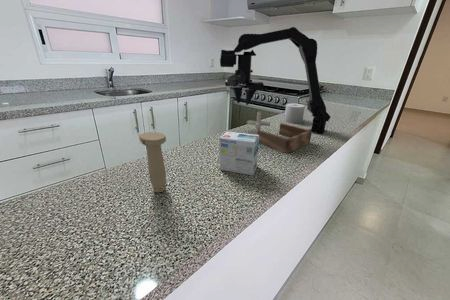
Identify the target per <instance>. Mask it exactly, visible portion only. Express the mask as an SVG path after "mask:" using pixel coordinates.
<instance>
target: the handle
mask: <svg viewBox="0 0 450 300" xmlns="http://www.w3.org/2000/svg"><path fill="white" fill-rule="evenodd" d="M138 137H139V141H140V144H142V145H143V146H146V147H145V148H146V155H147V165H148V166H147V167H148V174H149V179H150V180H149V181H150V184H151V186H152V189H153V192H154V193H155V192H157V193H159V192H162V191H163V192H164V190H165V191H166V189H167V186H166V184H167V174H166V166H165V161H164V157H163V151H162V145H163V144H165V142H167V139H166V138H167V137H166V135H165V134H164V133H162V132H157V131H148V132H147V131H146V132H142V133H141V134H138ZM163 192H162V193H163Z"/></svg>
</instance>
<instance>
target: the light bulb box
mask: <svg viewBox="0 0 450 300" xmlns="http://www.w3.org/2000/svg"><path fill="white" fill-rule="evenodd" d="M259 144H260V143H259V135H257V134H256V133H254V134H253V133H243V132H234V131H226V132H224V134H221V136H220V137H219V170H220V171H226V172H230V173H237V174H243V175H249V176H254V174H255V171H256V170H257V168H258V159H259V146H260V145H259Z"/></svg>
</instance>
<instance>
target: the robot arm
mask: <svg viewBox="0 0 450 300" xmlns="http://www.w3.org/2000/svg"><path fill="white" fill-rule="evenodd" d="M284 40H285V41H286V40H289V41H291V43H293V44H294V45H295V47H296V48H297V49H298V52H299V55H300V57H301V60H302V61H303V64H304V69H305V74H306V79H307V81H306V82H307V86H308V91H309V92H308V93H309V98H308V100H306V101H305V102H306V106H307V107H306V108H307V110H308V112H310V113H311V116H312V117H313V118H312V123H311V128H310V129H308V130H311V131H312V133H315V134H318V135H323V134H325V133H327V132H328V130H327V129H326V125H327V122H330V121H329V120H331V115H330V114H329V113H328V112H327V107H326V103H325V101H324V99H323V97H322V95H321V89H320V83H319V75H318V69H317V63H316V60H317V56H318V43H317V40H316V39H314V38H309V37H308V36H307V35H306V34H304V33H302V32H301V31H299V30H298V28H297V27H295V26H292V27H289V28H284V29H281V30H274V31H269V32H264V33H243V34H241V35H240V36H239V38H238V44H237V45H236V47H234V49H233V50H231V49H230V50H226V49H221V50H220V58H219V63H220V65H219V66H220V67H221V68H234V66H236V65H237V69H235V71H234V74H232V75H231V76H229V77H227V78H226V80H225V81H224V84H225V85H224V86H225V87H229V89H231V90H232V91H233V93H234V96H235V99H236V103H237V104H240V102H241V97H242V94H243V93H242V92H243V87H244V88H245V87H246V88H247V89H244V92H245V93H246V94H245V104H246V106H248V105H249V104H250V102H251V101H252V99H253V97H254V95H255V93H256V91H259V90H260V91H261V90H264V89H265V88H264V87H265V84H264V82H263V81H262V82H261V81H253V79H251V75H252V73H253V72H254V69H252V56H253V57H256V56H257V54H256V53H255V52H254V48H256V47H258V46H260V45H264V44H269V43H274V42H280V41H284ZM247 50H251V51H247ZM241 52H243V53H241ZM239 53H241V54H239Z"/></svg>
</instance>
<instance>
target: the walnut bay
mask: <svg viewBox="0 0 450 300" xmlns="http://www.w3.org/2000/svg"><path fill="white" fill-rule="evenodd" d="M312 133H313V132H312V131H311V130H309V129H307V128H303V127H299V126H295V125H290V124H287V123H282V122H281V123H279V131H278V134H279V135H280V136H279V135H276V134H273V133H270V132H267V131H264V130H261V129H260V130H258V133H257V134H256V135H259V144H260V145H263V146H265V147H268V148H271V149H274V150H277V151H278V152H282V153H285V154H289V153H291V152H293V151H295V150H297V149H300V148H301V147H303V146H305V145H308V144H310V143H311V138H312ZM282 136H283V137H282ZM286 137H287V138H286Z"/></svg>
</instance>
